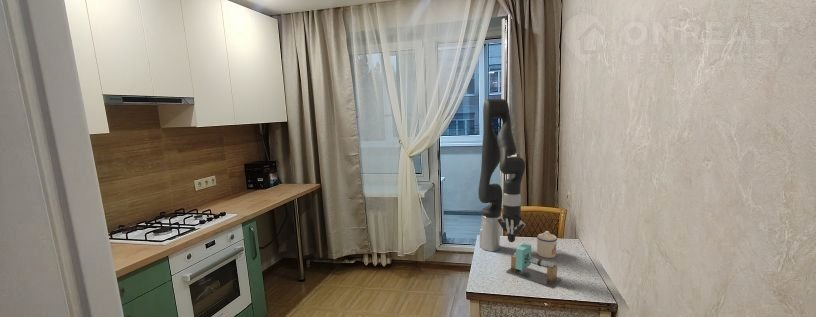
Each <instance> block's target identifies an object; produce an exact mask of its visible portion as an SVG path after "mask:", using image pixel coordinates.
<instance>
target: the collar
mask: <svg viewBox="0 0 816 317" xmlns="http://www.w3.org/2000/svg"><path fill="white" fill-rule="evenodd" d="M515 252H516V269H519V270H524V269H525V268H529V267H530V266H531V265H532V263H529V262H526V261H525V255H527V256H530V257H532V244H530V243H523V244H521V245H519V246H518V247H516V248H515Z"/></svg>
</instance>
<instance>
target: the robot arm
mask: <svg viewBox="0 0 816 317" xmlns="http://www.w3.org/2000/svg"><path fill="white" fill-rule="evenodd" d="M483 102H484V103H483V109H482V115H483V117H482V121H483V123H482V124H483V127H482V128H483V130H482V132H483V133H482V134H483V135H482V147H481V166H480V167H481V169H480V177H479V183H478V190H477V194H478V195H477V196H478V199H479V200H478V201H480V203H482V204H488V205H487V206H485V207H483V208H482V210H481V228H480V229H479V248H481V249H483V251H488V252H495V251H499V250H500V248H501V228H502V230H503V232H506V234H507V241H508V243H513V242H515V241H516V235H518V234H519V233H520V232H521V231H522V230H524V228H525V227H526V226H527V223H526V222H524V221H523V220H522V217H521V216H522V215H521V213H522V212H521V211H522V195H521V186H522V185H521V184H522V181H523V175H524V173H525V170H526V162H525V160H524V159H523V158H522V157H520V156H519V157H513V156H514V155H515V154H516V153H517V148H516V147H517V146H516V143H515V140H514V136H513V132H512V122H511V112H510V107H509V106H510V105H509V103H508V101H507V100H506V99H504V98H487V99H485V101H483ZM494 119H498V120H499V119H500V120H501V122H502V123H501V124H502V125H501V127H500V129H499V130H498V133H497V135H496V133H495V131H494V129H493V128H494V127H493V121H492V120H494ZM498 165H499V171H500V172H501V173H502V174H504V175H513V176H511V177H510V178H507V179H505V180H504V181H503V189H502V187H501V185H500V184H498V183H491V179H492V176H493V174H494V172H495V171H496V169H497V167H498ZM501 213H502V216H501Z"/></svg>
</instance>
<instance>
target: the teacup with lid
mask: <svg viewBox="0 0 816 317" xmlns="http://www.w3.org/2000/svg"><path fill="white" fill-rule="evenodd" d="M536 238H537V241H536V242H537V243H536V244H537V245H536V253H537V255H538V256H539V257H542V258H546V259H552V258H555V257H556V256H557V240H558V238H557V236H556V235H555V234H552V233H550V231H548V230H545V231H544V232H543V233H539V234H538V235H537V236H536Z"/></svg>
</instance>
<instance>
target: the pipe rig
mask: <svg viewBox="0 0 816 317" xmlns="http://www.w3.org/2000/svg"><path fill="white" fill-rule="evenodd" d="M525 261H526V262H529V263H531V264H533V265H535V266H538V267H543V268H545V269H546V272H543V271H538V270H537V269H534V268H530V267H527V268H525V269H524V270H519V269H516V251H515V252H514V253H513V255H511V257H510V268H508V269H507V270H506V273H507V274H510V275H512V276H515V277H518V278H521V279H524V280H527V281H529V282H532V283H536V284H540V285H542V286H545V287H547V288H551V289H553V288H554V287H555V286H556V285H557V284H559V283H560V281H562V278H561V277H559V276H558V265H557V264H555V263H553V262H551V261H547V260H544V259H541V258H537V257H533V256H531V257H530V256H527V255H525Z"/></svg>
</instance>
